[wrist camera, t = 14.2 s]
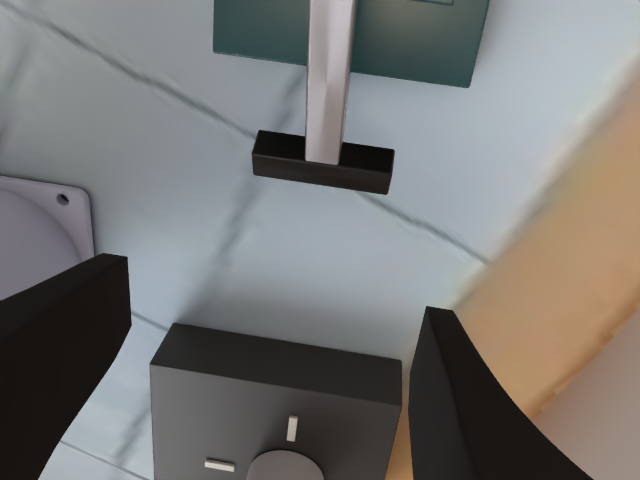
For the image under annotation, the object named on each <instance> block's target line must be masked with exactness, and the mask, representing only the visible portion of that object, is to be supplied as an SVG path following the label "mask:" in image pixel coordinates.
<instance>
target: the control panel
mask: <svg viewBox="0 0 640 480" xmlns="http://www.w3.org/2000/svg"><path fill="white" fill-rule="evenodd" d="M150 386H151V411H152V435H153V460H154V480H246V478H247V474H248V471H249V467H250V465H251V463H252V462H253V461H254V460H255V459H256V458H257V457H258V456H260V455H261V454H264V453H266V452H270V451H276V450H285V451H291V452H296V453H299V454H301V455H304V456H305V457H307V458H309V459H310V460H312V461H313V462H314V463H315V464H316V465H317V466H318V467H319V468H320V470H321V472H322V474H323V477H324V480H384V479H385V475H386V471H387V467H388V462H389V458H390V454H391V450H392V446H393V442H394V438H395V434H396V429H397V425H398V421H399V417H400V413H401V409H402V361H400V360H394V359H388V358H382V357H376V356H370V355H364V354H358V353H351V352H345V351H339V350H333V349H327V348H321V347H315V346H309V345H303V344H297V343H291V342H285V341H279V340H273V339H267V338H260V337H254V336H248V335H242V334H236V333H230V332H224V331H218V330H212V329H206V328H200V327H194V326H188V325H182V324H176V323H173V324H172V326H171V327H170V329H169V331H168V333H167V334H166V336H165V338H164V340H163V341H162V343H161V345H160V347H159V348H158V350H157V352H156V353H155V355H154V357H153V359H152V360H151V362H150Z"/></svg>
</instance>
